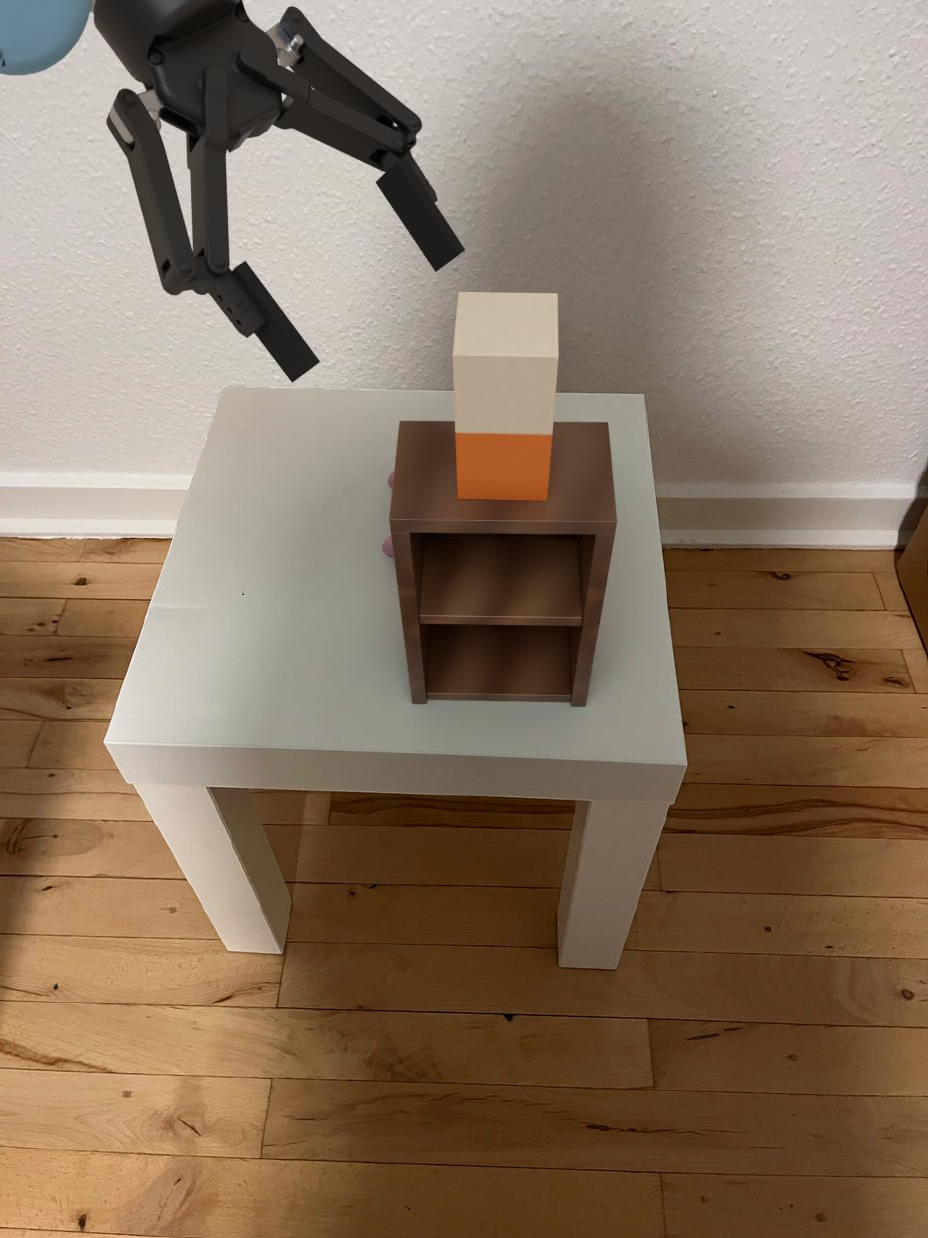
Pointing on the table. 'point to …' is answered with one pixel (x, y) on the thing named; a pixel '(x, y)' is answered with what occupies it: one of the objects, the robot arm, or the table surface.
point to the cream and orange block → (504, 393)
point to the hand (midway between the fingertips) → (382, 314)
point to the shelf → (501, 570)
